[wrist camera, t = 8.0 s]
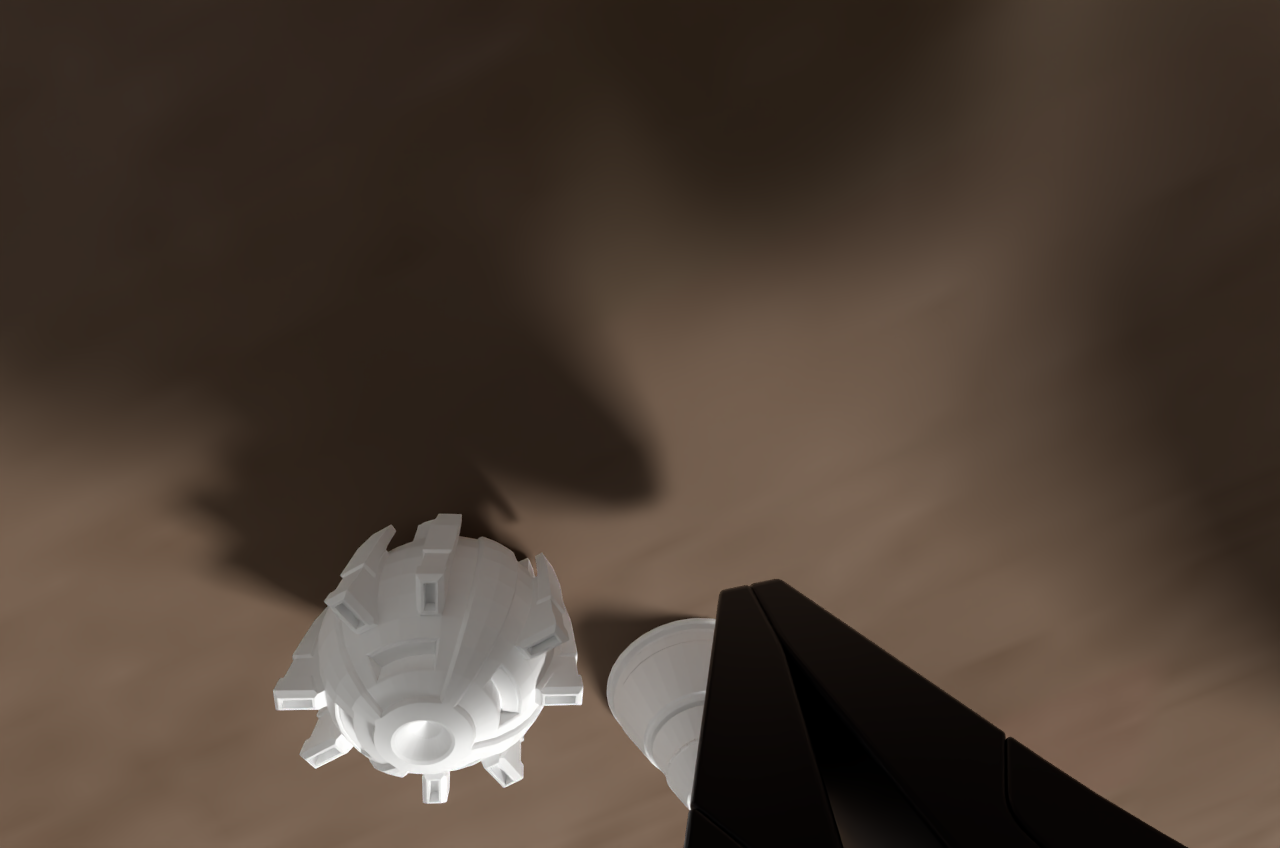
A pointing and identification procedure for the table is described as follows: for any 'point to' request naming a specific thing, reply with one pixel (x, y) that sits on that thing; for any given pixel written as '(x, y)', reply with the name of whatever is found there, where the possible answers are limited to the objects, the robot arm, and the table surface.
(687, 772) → the game pieces
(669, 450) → the table surface
